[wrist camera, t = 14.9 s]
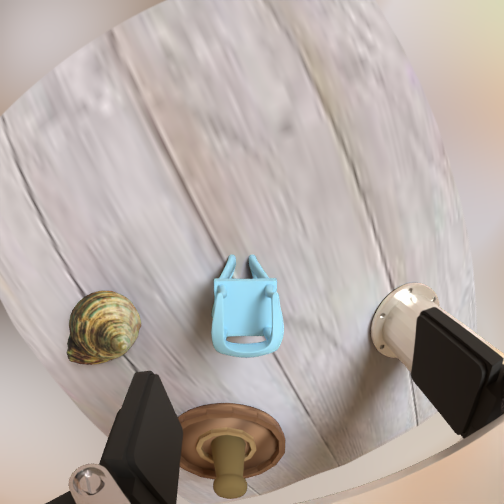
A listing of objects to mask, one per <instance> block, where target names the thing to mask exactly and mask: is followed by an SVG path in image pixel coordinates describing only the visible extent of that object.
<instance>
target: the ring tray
mask: <svg viewBox="0 0 504 504" xmlns="http://www.w3.org/2000/svg"><path fill="white" fill-rule="evenodd" d="M178 419H179V422H180V424H181V426H182V429H183V441H182V450H181V459H180V467H181V468H183V469H184V470H186V471H188V472H191V473H193V474H195V475H198V476H200V477H204V478H210V479H216V472H215V467H214V461H213V455H212V449H211V442H212V440H213V439H215V438H216V437H218V436H221V435H232V436H237V437H240V438H242V439H243V440H244V441H245V443H246V446H245V459H244V470H243V478H249V477H253V476H256V475H259V474H262V473H264V472H265V471H267V470H269V469H270V468H272V467H273V466H275V465H276V464H277V463H278V462H279V460H280V459H281V458H282V456H283V455H284V453H285V437H284V433H283V432H282V429H281V427H280V425H279V423H278V422H277V421H276V420H275V419H274V418H273V417H272V416H270V415H269V414H267V413H266V412H264V411H262V410H259V409H257V408H254V407H251V406H247V405H241V404H233V403H216V404H208V405H203V406H199V407H196V408H193V409H191V410H189V411H187V412H185V413H183V414H182V415H180V416H179V417H178Z"/></svg>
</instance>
